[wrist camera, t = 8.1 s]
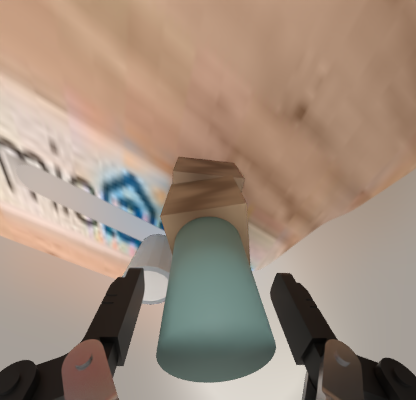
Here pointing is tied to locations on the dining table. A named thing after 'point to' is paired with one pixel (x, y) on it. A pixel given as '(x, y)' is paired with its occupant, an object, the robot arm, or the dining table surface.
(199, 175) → the tower base
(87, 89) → the dining table surface
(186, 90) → the dining table surface
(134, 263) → the grey cup
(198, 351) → the cylinder
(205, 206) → the tower top
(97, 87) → the dining table surface
